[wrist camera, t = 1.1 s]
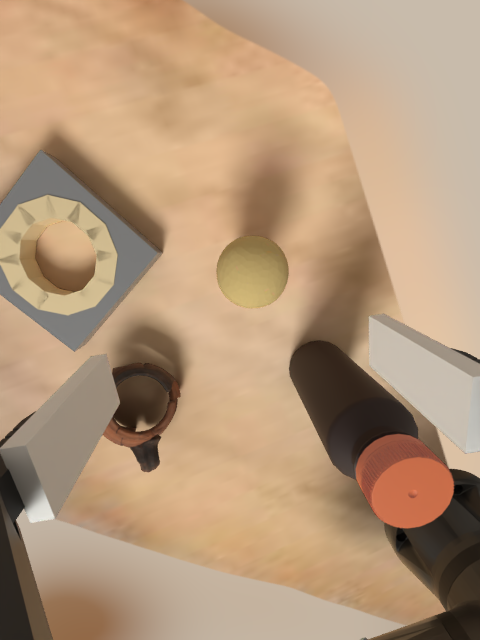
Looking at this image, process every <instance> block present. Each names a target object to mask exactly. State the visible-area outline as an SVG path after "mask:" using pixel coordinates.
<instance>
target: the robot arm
mask: <svg viewBox="0 0 480 640" xmlns="http://www.w3.org/2000/svg"><path fill="white" fill-rule="evenodd" d="M369 366H370V367H371V368H372V369H373V370H375V371H376V372H377V373H378V374H379V375H380V376H381V377H382V378H383V379H384V380H385V381H387V382H388V383H389V384H390V385H391V386H392V387H393V388H394V389H395V390H396V391H397V392H398V393H400V394H401V395H402V396H403V397H404V398H405V399H406V400H407V401H408V402H409V403H410V404H412V405H413V406H414V407H415V408H416V409H417V410H418V411H419V412H420V413H421V414H422V415H424V416H425V417H426V418H427V419H428V420H429V421H430V422H431V423H432V424H433V425H434V426H436V427H437V428H438V429H439V430H440V431H441V432H442V433H443V434H444V435H445V436H446V437H448V438H449V439H450V440H451V441H452V442H453V443H454V444H455V445H456V446H457V447H458V448H459V449H461V450H462V451H463V452H464V453H465V454H467V453H473V452H479V451H480V360H479V359H477V358H476V357H474V356H472V355H470V354H468V353H466V352H463V351H459V350H456V349H452V348H448V347H447V346H445V345H443V344H441V343H439V342H437V341H435V340H433V339H431V338H429V337H428V336H426V335H423V334H422V333H420V332H418V331H416V330H414V329H412V328H410V327H408V326H406V325H405V324H403V323H401V322H399V321H397V320H395V319H393V318H391V317H389V316H387V315H385V314H378V315H371V316H369ZM119 404H120V400H119V397H118V393H117V390H116V386H115V382H114V379H113V375H112V372H111V368H110V365H109V361H108V357H107V354H104V355H97V356H91V357H90V358H89V359H88V360H87V361H86V362H85V363H84V364H83V365H82V366H81V367H80V368H79V369H78V370H77V371H76V372H75V373H74V374H73V375H72V376H71V377H70V378H69V379H68V380H67V381H66V382H65V383H64V384H63V385H62V386H61V387H60V388H59V389H58V390H57V391H56V392H55V393H54V394H53V395H52V396H51V397H50V398H49V399H48V400H47V401H46V402H45V403H44V404H43V405H42V406H41V407H40V408H39V409H38V410H37V411H35V412H34V413H32V414H31V415H29V416H28V417H26V418H25V419H23V420H22V421H21V422H20V423H19V424H18V425H17V426H16V427H15V428H14V429H13V431H11V432H10V433H8V434H7V435H6V436H5V438H4V439H2V440H1V441H0V640H53V638H52V635H51V631H50V628H49V625H48V621H47V618H46V615H45V612H44V608H43V605H42V601H41V598H40V595H39V592H38V588H37V584H36V581H35V578H34V574H33V571H32V568H31V565H30V561H29V558H28V555H27V551H26V548H25V544H24V541H23V538H22V534H21V531H20V528H19V526H18V524H17V522H16V519H17V517H18V516H19V514H20V513H21V512H22V510H23V509H25V511H26V514H27V516H28V518H29V521H30V522H31V523H32V522H39V521H45V520H51V519H55V518H56V517H57V515H58V513H59V511H60V509H61V508H62V506H63V504H64V502H65V501H66V499H67V497H68V495H69V493H70V492H71V490H72V488H73V486H74V484H75V483H76V481H77V479H78V477H79V476H80V474H81V472H82V470H83V468H84V467H85V465H86V463H87V461H88V460H89V458H90V456H91V454H92V452H93V451H94V449H95V447H96V445H97V443H98V442H99V440H100V438H101V436H102V435H103V433H104V431H105V429H106V427H107V426H108V424H109V422H110V420H111V419H112V417H113V415H114V413H115V411H116V410H117V408H118V406H119ZM449 470H450V472H451V473H452V474H451V475H452V476H453V477H452V478H453V481H454V483H453V484H454V485H455V486H453V487H454V488H455V489H453V491H454V492H453V496H452V498H451V501H450V504H449V505H448V507H447V508H446V510H445V511H444V512H443V513H442V514H441V515H440V516H438V517H437V518H436V519H435V520H433V521H432V522H430V523H427V524H425V525H422V526H420V527H415V528H414V527H413V528H408V529H407V528H400V527H398V528H397V527H395V526H394V527H393V526H392V525H391V526H390V524H388V525H387V523H385V532H386V536H387V538H388V540H389V542H390V544H391V546H392V547H393V549H394V551H395V553H396V555H397V556H398V558H399V559H400V560H401V561H402V563H403V564H404V565H405V566H406V567H407V568H408V569H409V570H410V571H411V572H412V573H413V574H414V575H415V576H416V577H417V578H418V579H419V580H420V581H421V582H422V583H423V584H424V585H425V586H426V587H427V588H428V589H429V590H430V591H431V592H432V593H433V594H434V595H435V596H436V597H437V598H438V599H439V600H440V602H441V603H442V605H443V607H444V608H445V610H446V612H443V613H441V614H438V615H434V616H432V617H429V618H427V619H424V620H422V621H419V622H416V623H414V624H411V625H408V626H405V627H403V628H400V629H397V630H394V631H391V632H388V633H385V634H382V635H380V636H377V637H374V638H371V639H367V638H362V639H361V640H480V478H478V477H477V476H475V475H473V474H471V473H469V472H466V471H462V470H457V469H449Z"/></svg>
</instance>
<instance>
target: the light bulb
mask: <svg viewBox="0 0 480 640" xmlns="http://www.w3.org/2000/svg"><path fill="white" fill-rule="evenodd" d="M217 280H218V284H219V287H220V289H221V291H222V293H223V294H224V295H225V297H226V298H227V299H229V300H230V301H231V302H232V303H234V304H236V305H238V306H241V307H245V308H260V307H264V306H267V305H269V304H271V303H273V302H274V301H275V300H277V298H278V297H279V296H280V295H281V294H282V292H283V291H284V289H285V286H286V284H287V280H288V263H287V259H286V257H285V254H284V253H283V251H282V250H281V248H280V247H279V246H278V245H277V244H276V243H274V242H273V241H271V240H269V239H267V238H264V237H261V236H244V237H241V238H238V239H236V240H234V241H233V242H231V243H230V244H229V245H228V246H227V247H226V248H225V249H224V250H223V252H222V254H221V255H220V257H219V260H218V264H217Z"/></svg>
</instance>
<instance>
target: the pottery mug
mask: <svg viewBox="0 0 480 640" xmlns="http://www.w3.org/2000/svg"><path fill="white" fill-rule="evenodd" d="M112 375H113V379H114V382H115V386H116V387H117V386H118V385H119V384H120V383H121V382H122V381H124V380H125V379H127V378H129V377H132V376H138V375H143V376H148V377H151V378H154V379H156V380H157V381H158V382H160V383H161V384H162V386H163V387H164V388H165V390H166V391H167V392H169V397H170V402H169V403H168V407H167V411H166V413H165V415H164V417H163V419H162V420H161V421H160V422H159V423H158V424H157V425H156V426H154V427H153V428H151V429H149V430H146V431H141V432H135V431H136V428H135V427H133V428H128V427H123V426H120V425H119V424H118V423H117V422H116V421H115V419H114V417H112V419H111V420H110V422H109V424H108V426H107V427H106V429H105V431H104V433H103V435H104V436H105V437H106V438H107V439H109V440H111V441H112V442H114V443H116V444H118V445H121V446H123V445H124V446H126V447H130V448H131V450H132V451H133V453H134V455H135V457H136V459H137V461H138V462H139V464H140V466H141V470H142V471H144V472H150V471H152V470H154V469H156V468H157V466H158V465H159V464H160V460H159V455H158V442H159V440H160V439H161V436H160V434H161V433H163V431H164V430H165V429H166V428H167V426H168V425H169V423H170V422H171V420H172V418H173V416H174V413H175V411H176V408H177V401H178V400H177V398H178V397H180V390H179V387H178V384H177V382H176V381H175V379H174V377H173V376H172V375H171V374H169V373H168V372H167V371H165V370H164V369H162V368H160V367H158V366H155V365H152V364H149V363H146V364H145V365H143V364H141V363H135V364H131V365H127V366H123V367H117V368H113V372H112ZM158 434H159V435H158Z"/></svg>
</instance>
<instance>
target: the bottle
mask: <svg viewBox="0 0 480 640" xmlns="http://www.w3.org/2000/svg"><path fill="white" fill-rule="evenodd" d="M289 371H290V377H291V379H292V381H293V383H294V386H295V388H296V390H297V392H298V394H299V396H300V398H301V400H302V402H303V404H304V406H305V408H306V410H307V412H308V414H309V416H310V418H311V420H312V422H313V425H314V427H315V429H316V431H317V433H318V435H319V437H320V439H321V441H322V443H323V445H324V447H325V449H326V451H327V453H328V455H329V457H330V459H331V461H332V463H333V465H334V466H336V467H337V468H338V469H339V470H340V471H341V472H342V473H343V474H345V475H347V476H349V477H351V478H353V479H356V480H357V482H358V484H359V486H360V488H361V490H362V492H363V493H364V495H365V497H366V499H367V501H368V503H369V504H370V506H371V508H372V510H373V512H374V513H375V515H377V517H379V519H381V520H382V521H384V523H387V525H388V524H390V526H391V525H392V526H393V527H394V526H395V527H397V528H398V527H400V528H407V529H408V528H413V527H414V528H415V527H420V526H422V525H425V524H427V523H430V522H432V521H433V520H435V519H436V518H437V517H438V516H440V515H441V514H442V513H443V512H444V511H445V510H446V508H447V507H448V505H449V504H450V501H451V498H452V496H453V492H454V491H453V489H455V488H454V487H453V486H455V485H454V484H453V483H454V481H453V478H452V477H453V476H452V475H451V474H452V473H451V472H450V470H449V469H448V467H447V466H446V465H445V464H444V463H443V462H442V461H441V460H440V459H439V458H438V457H437V456H436V455H435V454H434V453H433V452H432V451H431V450H430V449H428V448H427V447H426V446H425V445H424V444H423V443H422V442H421V441H420V440H418V428H417V426H416V423H415V421H414V418H413V416H412V414H411V413H410V412H409V411H408V410H407V409H406V408H405V407H404V406H403V405H402V404H401V403H400V402H399V401H398V400H397V399H396V398H394V397H393V396H392V395H391V394H390V393H389V392H388V391H386V390H385V389H384V388H383V387H382V386H381V385H380V384H379V383H377V382H376V381H375V380H374V379H373V378H372V377H371V376H369V375H368V374H367V373H366V372H365V371H364V370H363V369H361V368H360V367H359V366H358V365H357V364H356V363H355V362H354V361H352V360H351V359H350V358H349V357H348V356H347V355H346V354H344V353H343V352H342V351H341V350H340V349H339V348H338V347H336V346H335V345H333V344H331V343H329V342H324V341H314V342H309V343H307V344H305V345H303V346H301V347H300V348H299V349H298V350H297V351H296V352H295V354H294V355H293V357H292V359H291V362H290V367H289Z"/></svg>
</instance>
